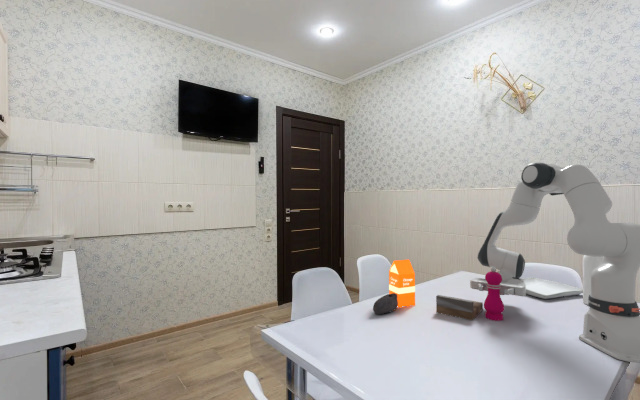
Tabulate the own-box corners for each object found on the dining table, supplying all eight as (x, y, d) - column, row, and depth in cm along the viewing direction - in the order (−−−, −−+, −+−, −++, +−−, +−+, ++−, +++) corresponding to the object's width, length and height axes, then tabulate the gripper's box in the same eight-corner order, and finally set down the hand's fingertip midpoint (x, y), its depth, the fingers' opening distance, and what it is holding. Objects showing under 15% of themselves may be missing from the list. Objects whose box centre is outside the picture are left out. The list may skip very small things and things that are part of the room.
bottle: (578, 301, 148) (577, 236, 148) (594, 301, 149) (593, 236, 149) (593, 307, 140) (592, 238, 140) (611, 307, 141) (610, 238, 141)
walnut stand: (449, 303, 148) (449, 287, 148) (482, 309, 139) (482, 293, 139) (436, 312, 135) (436, 295, 135) (472, 320, 126) (472, 302, 126)
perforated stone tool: (378, 318, 130) (378, 300, 130) (368, 314, 134) (368, 297, 134) (401, 310, 139) (401, 294, 139) (392, 307, 143) (391, 291, 143)
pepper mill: (499, 315, 132) (498, 266, 132) (507, 321, 125) (507, 269, 125) (480, 314, 132) (480, 265, 133) (488, 321, 125) (487, 269, 125)
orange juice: (415, 305, 145) (414, 260, 145) (399, 307, 142) (398, 262, 142) (404, 300, 152) (404, 258, 153) (388, 302, 149) (388, 259, 149)
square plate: (497, 287, 175) (496, 280, 175) (535, 283, 183) (535, 276, 183) (545, 302, 149) (545, 294, 149) (587, 296, 157) (587, 288, 157)
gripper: (474, 273, 145) (465, 279, 135) (528, 279, 132) (522, 286, 122) (474, 287, 145) (465, 294, 135) (528, 295, 132) (523, 303, 121)
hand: (493, 290), depth 128 cm, fingers open, 8 cm apart
